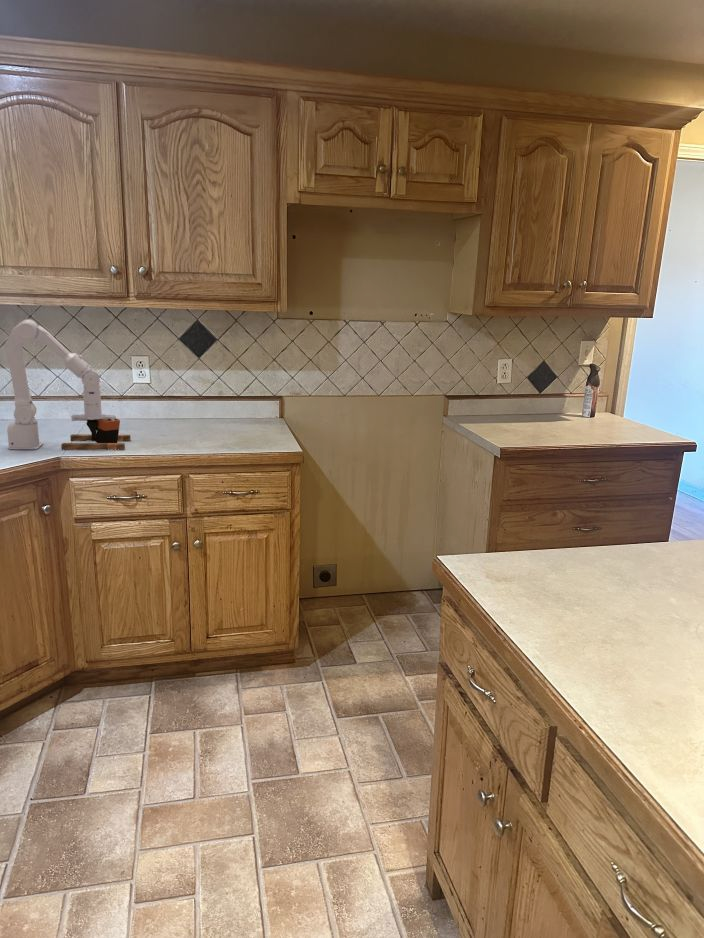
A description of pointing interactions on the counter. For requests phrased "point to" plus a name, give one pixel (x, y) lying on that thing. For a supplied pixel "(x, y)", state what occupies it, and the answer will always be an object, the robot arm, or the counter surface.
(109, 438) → the battery
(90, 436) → the guide channel
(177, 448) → the counter surface
